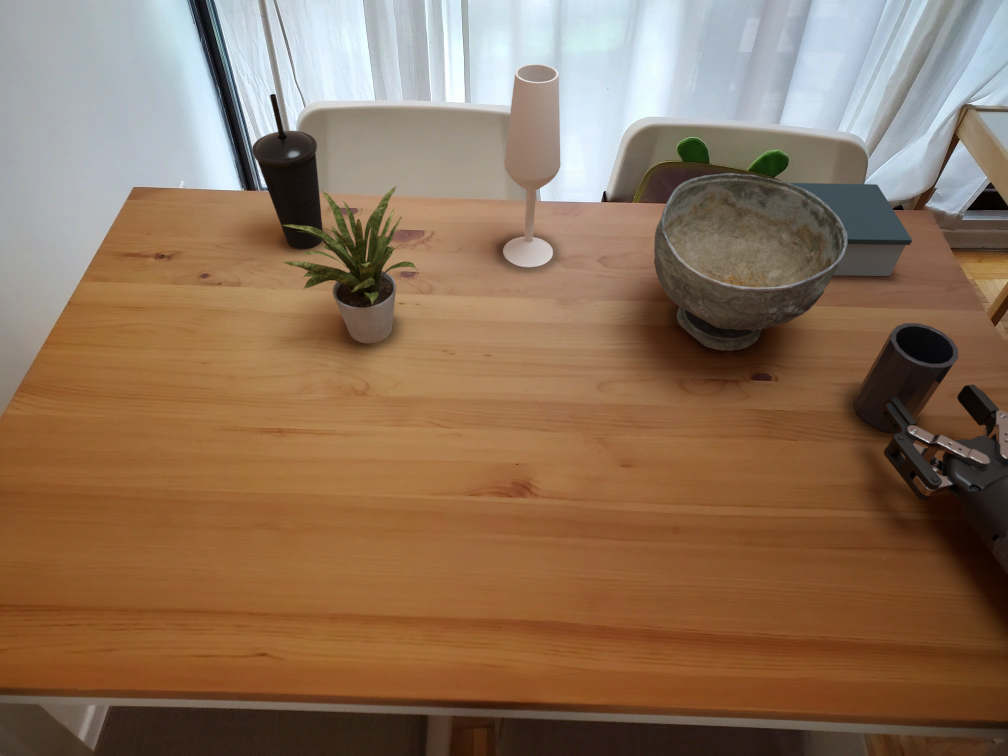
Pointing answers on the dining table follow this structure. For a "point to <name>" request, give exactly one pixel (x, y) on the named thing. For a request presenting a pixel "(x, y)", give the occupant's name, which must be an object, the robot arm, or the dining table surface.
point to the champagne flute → (533, 152)
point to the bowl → (744, 255)
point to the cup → (906, 372)
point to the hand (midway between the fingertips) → (925, 396)
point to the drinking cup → (291, 180)
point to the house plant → (358, 272)
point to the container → (864, 227)
